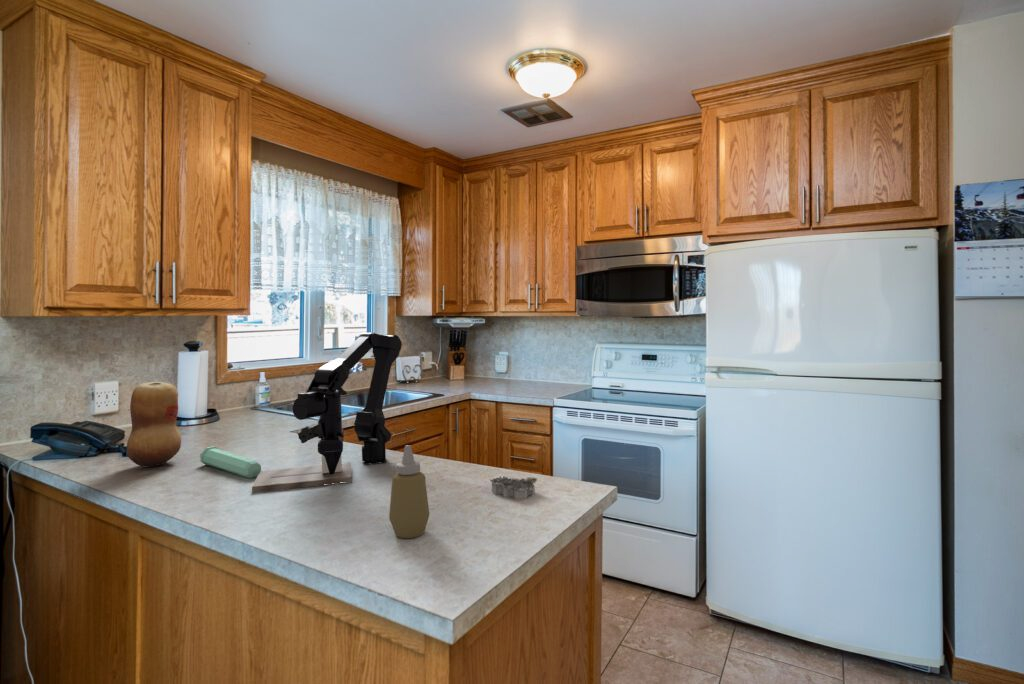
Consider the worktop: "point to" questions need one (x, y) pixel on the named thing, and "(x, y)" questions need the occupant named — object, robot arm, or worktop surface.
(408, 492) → the squeeze bottle
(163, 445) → the butternut squash
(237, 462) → the container
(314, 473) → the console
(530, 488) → the egg carton
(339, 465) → the fader knob
